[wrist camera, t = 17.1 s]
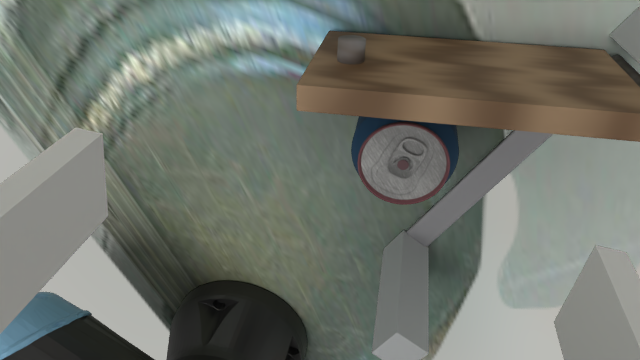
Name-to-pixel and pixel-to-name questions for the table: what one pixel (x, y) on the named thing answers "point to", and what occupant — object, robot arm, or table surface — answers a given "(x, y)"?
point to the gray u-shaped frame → (411, 246)
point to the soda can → (404, 157)
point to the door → (474, 84)
